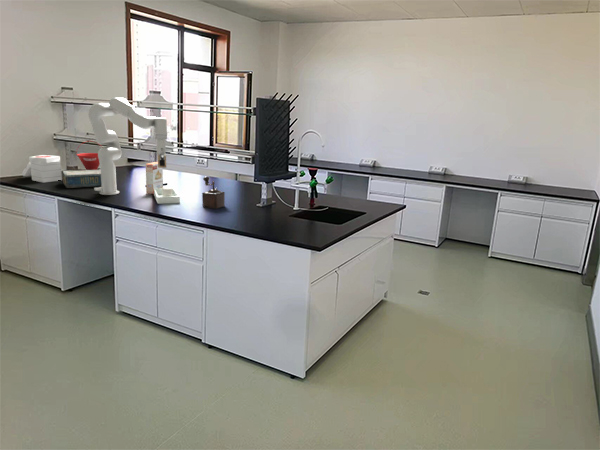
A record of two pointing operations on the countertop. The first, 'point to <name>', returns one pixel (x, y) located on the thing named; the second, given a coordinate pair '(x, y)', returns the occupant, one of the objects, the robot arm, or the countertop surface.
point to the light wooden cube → (159, 161)
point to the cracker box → (153, 177)
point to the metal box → (82, 178)
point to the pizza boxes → (44, 168)
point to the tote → (166, 199)
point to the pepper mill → (213, 197)
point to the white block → (167, 192)
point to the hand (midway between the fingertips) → (162, 164)
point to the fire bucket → (89, 160)
